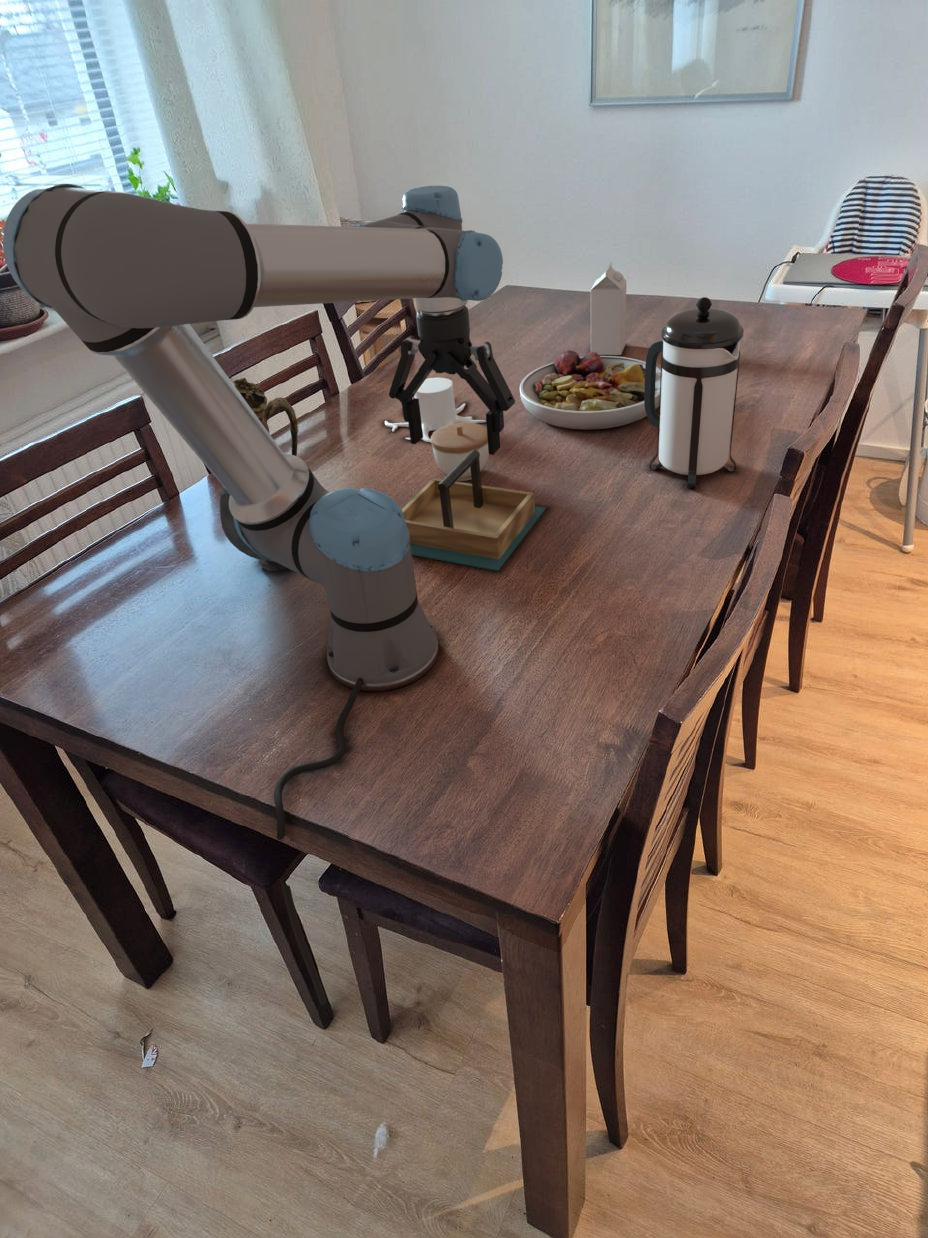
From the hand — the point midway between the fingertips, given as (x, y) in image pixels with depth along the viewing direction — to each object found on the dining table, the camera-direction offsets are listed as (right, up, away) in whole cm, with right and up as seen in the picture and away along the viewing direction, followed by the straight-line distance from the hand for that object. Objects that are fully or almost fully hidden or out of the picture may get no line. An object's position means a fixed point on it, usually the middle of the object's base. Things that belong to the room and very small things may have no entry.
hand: (455, 445), depth 135 cm
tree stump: (-5, +14, +45) cm, 47 cm away
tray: (+2, -12, +9) cm, 15 cm away
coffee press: (+41, 0, +19) cm, 45 cm away
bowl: (+28, +17, +45) cm, 56 cm away
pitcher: (-28, -16, +8) cm, 33 cm away
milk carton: (+36, +36, +69) cm, 86 cm away
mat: (+2, -12, +9) cm, 15 cm away
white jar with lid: (+1, 0, +25) cm, 26 cm away
